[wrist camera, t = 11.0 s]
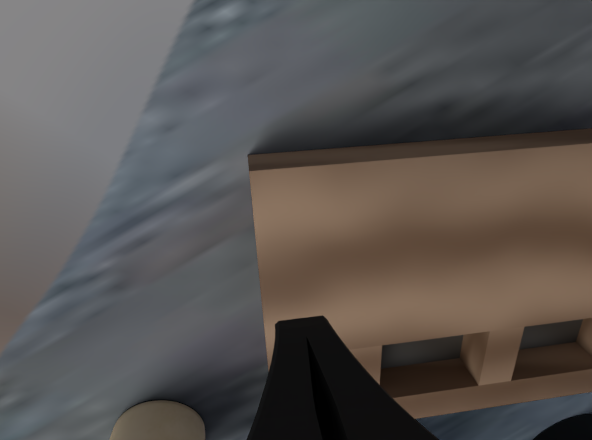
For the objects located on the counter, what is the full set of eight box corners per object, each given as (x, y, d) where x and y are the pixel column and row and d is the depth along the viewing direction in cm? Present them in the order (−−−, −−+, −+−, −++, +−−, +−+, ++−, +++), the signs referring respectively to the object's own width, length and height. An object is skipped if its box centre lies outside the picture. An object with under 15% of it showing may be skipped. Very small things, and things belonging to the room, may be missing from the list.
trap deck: (669, 346, 28) (708, 374, 25) (271, 403, 25) (275, 440, 22) (776, 114, 21) (841, 122, 19) (247, 155, 18) (249, 171, 16)
